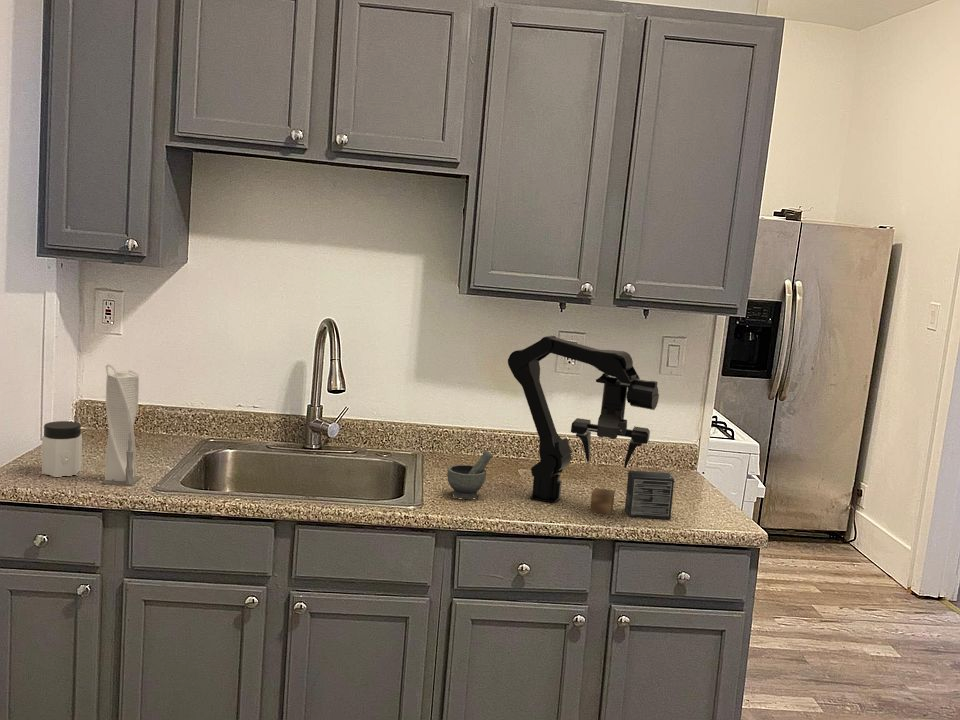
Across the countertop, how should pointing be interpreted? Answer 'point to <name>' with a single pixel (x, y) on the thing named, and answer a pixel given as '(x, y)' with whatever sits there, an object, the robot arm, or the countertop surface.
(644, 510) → the small box
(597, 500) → the block
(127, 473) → the skyscraper
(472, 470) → the mortar and pestle
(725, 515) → the countertop surface
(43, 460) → the jar
